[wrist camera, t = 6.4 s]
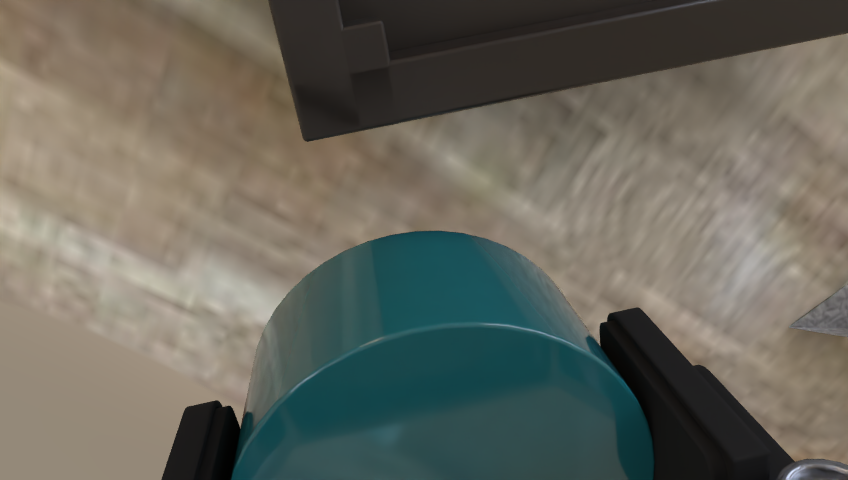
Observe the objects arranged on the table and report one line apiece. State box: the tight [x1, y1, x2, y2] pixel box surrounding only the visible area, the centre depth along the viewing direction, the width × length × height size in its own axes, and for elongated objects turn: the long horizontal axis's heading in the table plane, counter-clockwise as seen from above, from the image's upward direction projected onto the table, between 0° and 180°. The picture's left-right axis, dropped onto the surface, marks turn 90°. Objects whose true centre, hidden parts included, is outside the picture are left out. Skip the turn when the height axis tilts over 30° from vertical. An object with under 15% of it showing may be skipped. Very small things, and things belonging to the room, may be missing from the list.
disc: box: [231, 231, 655, 480], centre depth 11 cm, size 7×7×3 cm
